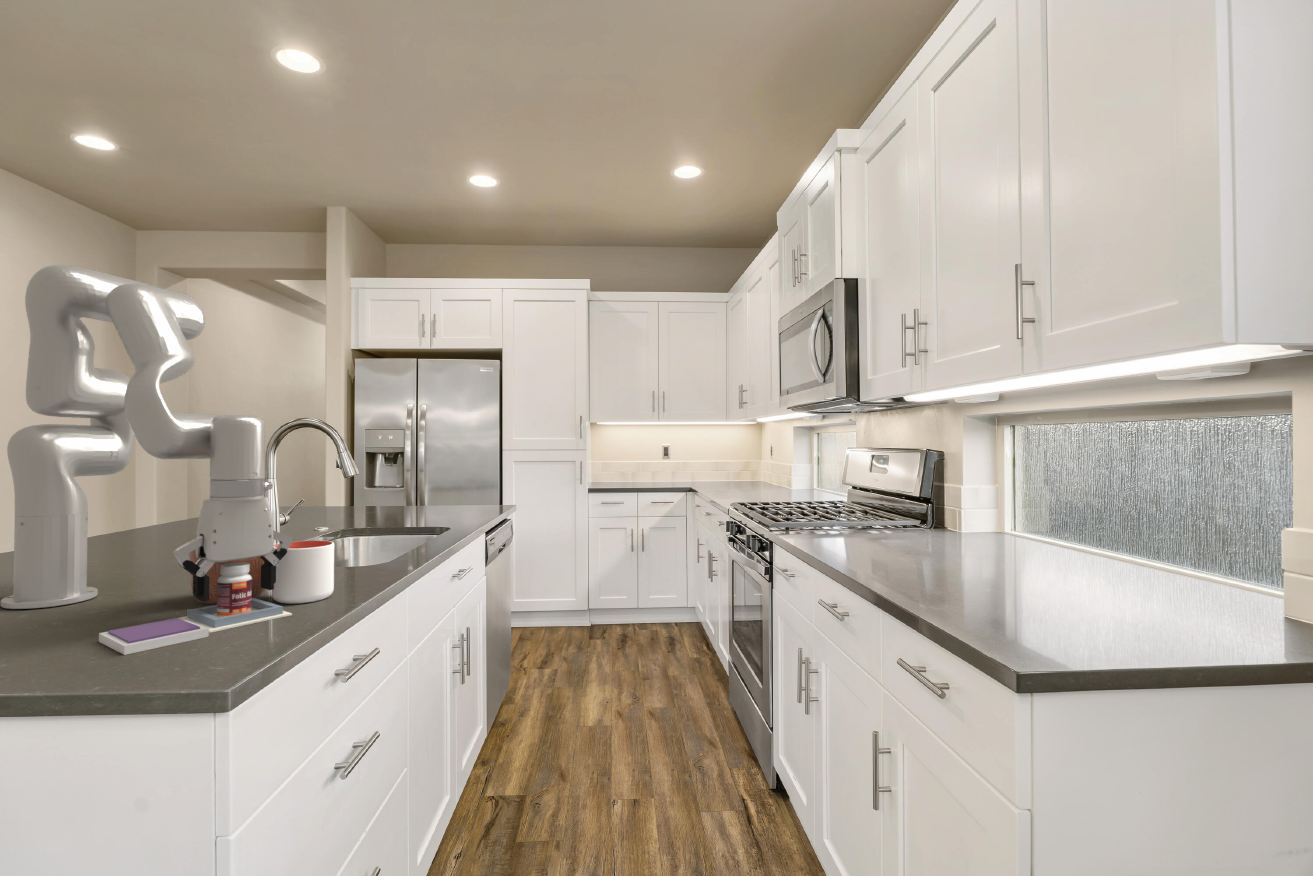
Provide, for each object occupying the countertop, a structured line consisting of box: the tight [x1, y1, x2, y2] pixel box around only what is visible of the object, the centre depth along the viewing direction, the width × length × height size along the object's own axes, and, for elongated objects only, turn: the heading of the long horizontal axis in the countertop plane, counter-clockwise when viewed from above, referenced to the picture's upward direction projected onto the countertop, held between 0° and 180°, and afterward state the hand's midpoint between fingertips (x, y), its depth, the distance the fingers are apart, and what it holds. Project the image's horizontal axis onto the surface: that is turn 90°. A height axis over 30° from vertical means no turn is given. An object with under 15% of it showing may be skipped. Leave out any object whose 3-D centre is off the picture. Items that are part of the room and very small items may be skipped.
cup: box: [271, 540, 335, 605], centre depth 118 cm, size 10×10×10 cm
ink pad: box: [98, 617, 210, 656], centre depth 93 cm, size 10×10×2 cm
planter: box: [188, 549, 266, 605], centre depth 117 cm, size 12×12×11 cm
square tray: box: [179, 597, 293, 634], centre depth 105 cm, size 12×12×2 cm
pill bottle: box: [216, 563, 252, 618], centre depth 105 cm, size 5×5×8 cm
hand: (236, 594), depth 105 cm, fingers open, 9 cm apart
